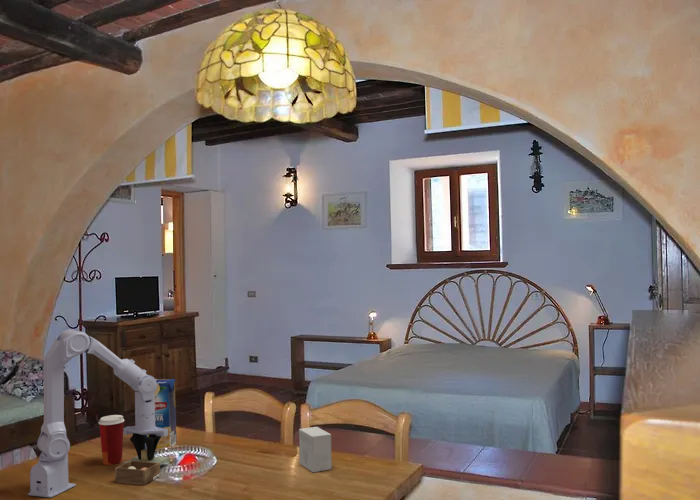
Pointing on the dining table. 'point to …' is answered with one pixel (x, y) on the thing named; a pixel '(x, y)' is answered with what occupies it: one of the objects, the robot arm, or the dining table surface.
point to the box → (136, 472)
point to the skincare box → (315, 449)
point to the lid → (145, 459)
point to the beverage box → (165, 411)
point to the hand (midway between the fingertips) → (146, 458)
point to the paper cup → (111, 439)
